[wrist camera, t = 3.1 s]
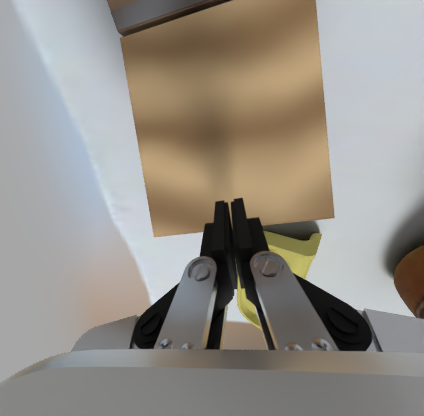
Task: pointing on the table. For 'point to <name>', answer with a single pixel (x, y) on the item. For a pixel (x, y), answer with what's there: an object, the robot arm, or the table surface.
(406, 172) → the table surface
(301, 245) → the plastic component
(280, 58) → the oak plank
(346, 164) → the table surface
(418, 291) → the ceramic pitcher
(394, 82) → the table surface
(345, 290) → the table surface
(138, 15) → the walnut board
